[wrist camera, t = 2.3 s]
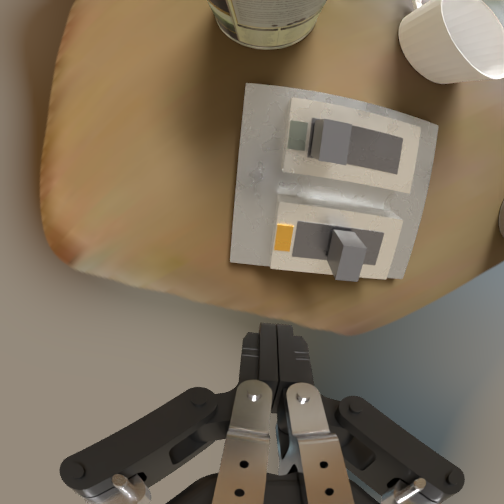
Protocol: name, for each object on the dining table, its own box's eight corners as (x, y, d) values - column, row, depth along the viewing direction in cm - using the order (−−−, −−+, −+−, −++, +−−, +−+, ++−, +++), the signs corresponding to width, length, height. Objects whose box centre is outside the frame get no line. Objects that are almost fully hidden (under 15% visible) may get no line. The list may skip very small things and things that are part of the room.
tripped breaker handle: (354, 232, 24) (367, 248, 21) (347, 262, 26) (357, 281, 22) (333, 229, 24) (343, 245, 21) (326, 260, 26) (335, 279, 22)
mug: (466, 88, 21) (519, 87, 13) (405, 80, 22) (455, 69, 14) (444, 2, 17) (487, -19, 8) (381, -12, 18) (416, -47, 9)
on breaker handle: (339, 124, 21) (352, 124, 17) (334, 159, 22) (346, 165, 19) (315, 120, 21) (324, 118, 17) (310, 155, 22) (318, 160, 19)
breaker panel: (431, 124, 24) (455, 127, 20) (397, 273, 31) (413, 293, 27) (246, 85, 24) (243, 76, 20) (231, 256, 31) (226, 277, 27)
